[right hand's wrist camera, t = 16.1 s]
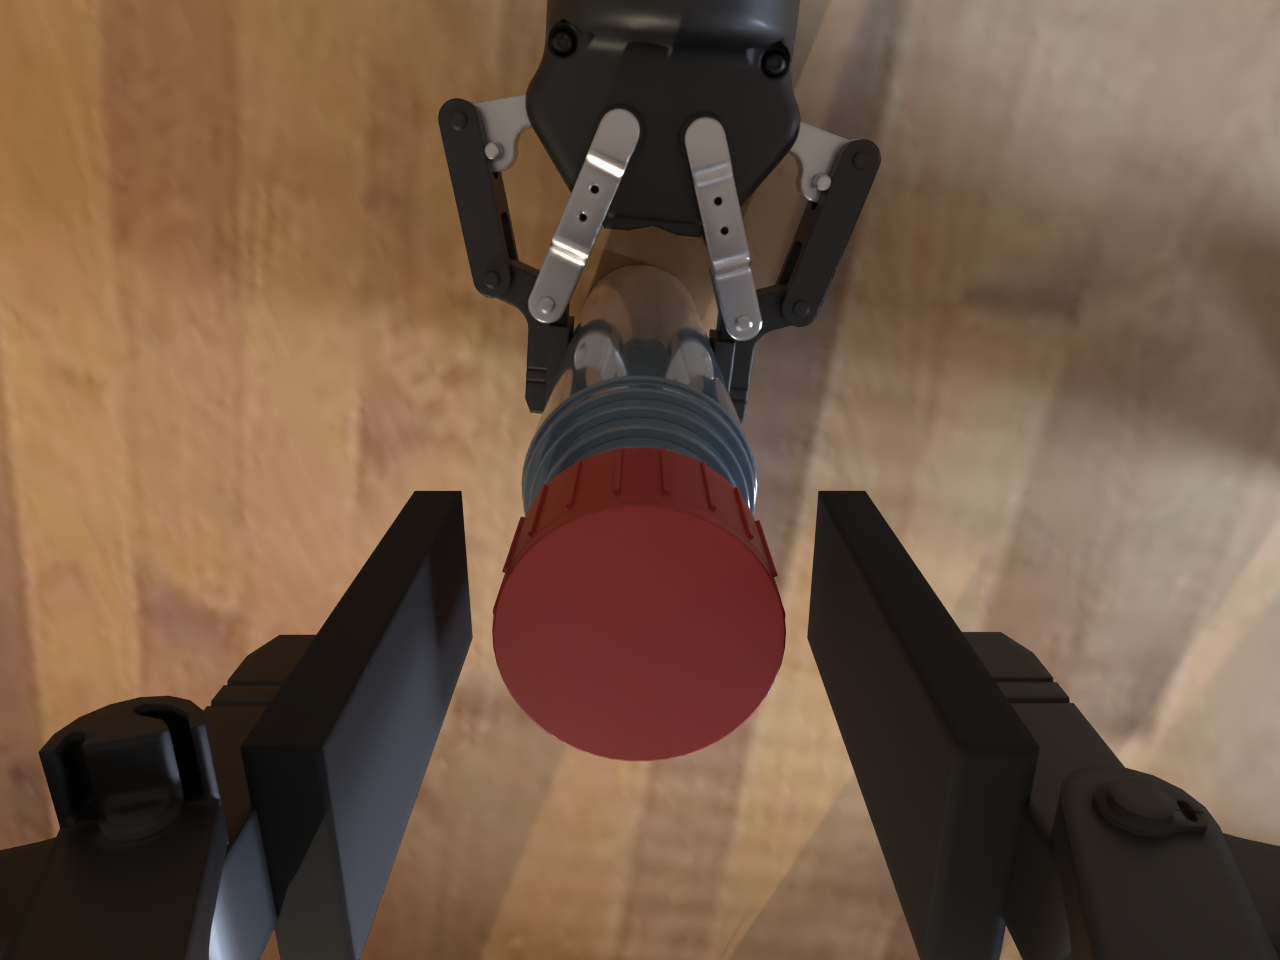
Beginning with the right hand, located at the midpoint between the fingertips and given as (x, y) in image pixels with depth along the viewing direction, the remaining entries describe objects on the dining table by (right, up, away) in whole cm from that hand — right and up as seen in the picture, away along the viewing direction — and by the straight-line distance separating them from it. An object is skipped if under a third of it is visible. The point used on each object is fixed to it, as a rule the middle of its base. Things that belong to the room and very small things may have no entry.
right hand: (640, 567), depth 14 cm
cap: (0, -1, -2) cm, 2 cm away
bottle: (0, +8, +21) cm, 23 cm away
